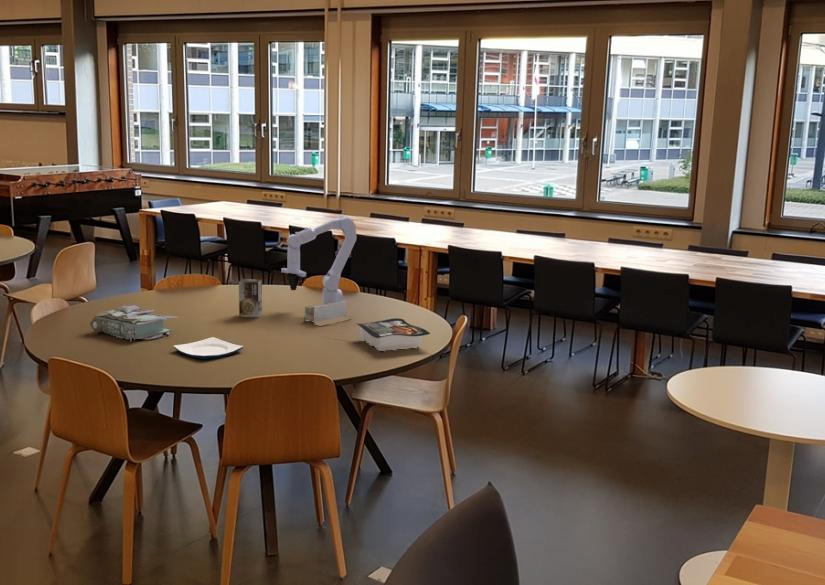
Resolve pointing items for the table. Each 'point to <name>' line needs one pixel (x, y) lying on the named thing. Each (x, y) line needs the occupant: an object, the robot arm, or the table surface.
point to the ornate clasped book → (130, 323)
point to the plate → (208, 348)
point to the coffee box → (250, 298)
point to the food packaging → (391, 334)
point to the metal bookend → (329, 311)
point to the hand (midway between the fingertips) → (293, 289)
